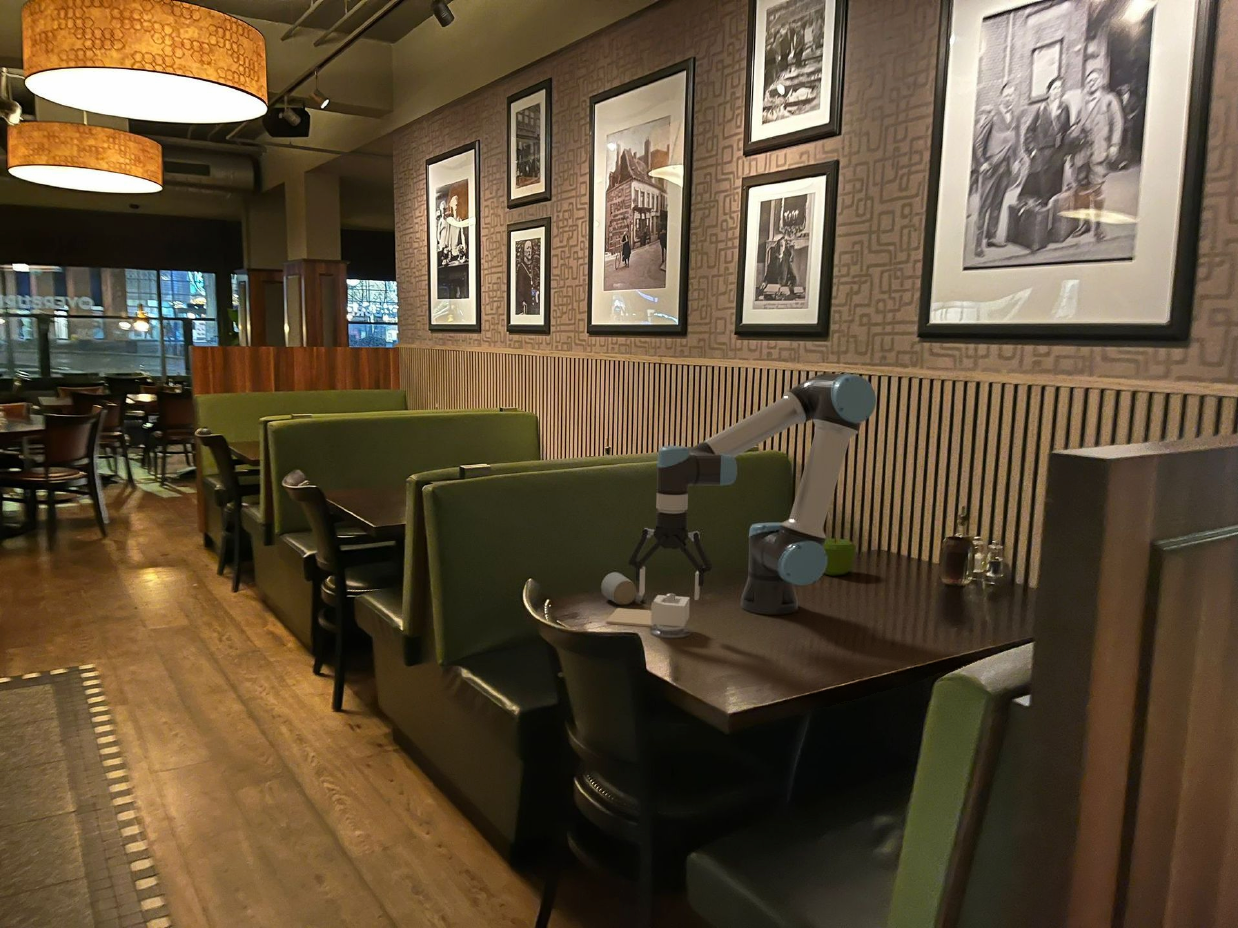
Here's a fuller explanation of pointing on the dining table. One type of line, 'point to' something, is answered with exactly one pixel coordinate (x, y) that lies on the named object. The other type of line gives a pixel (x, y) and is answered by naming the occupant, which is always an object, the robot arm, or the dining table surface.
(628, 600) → the ceramic mug
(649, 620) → the mat
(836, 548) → the apple
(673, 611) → the white hollow square block
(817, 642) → the dining table surface
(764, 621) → the dining table surface
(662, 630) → the stand
